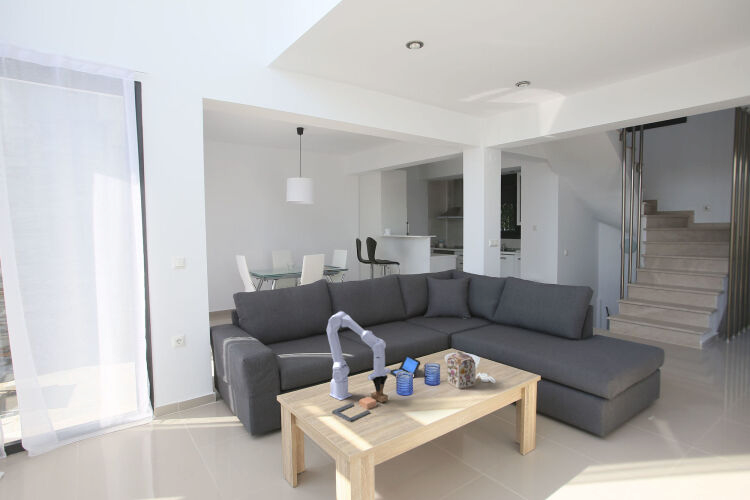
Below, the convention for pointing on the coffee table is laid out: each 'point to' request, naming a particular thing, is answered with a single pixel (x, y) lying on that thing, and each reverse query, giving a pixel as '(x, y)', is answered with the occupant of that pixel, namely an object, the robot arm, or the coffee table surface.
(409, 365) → the handheld game console
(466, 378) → the decorative jar
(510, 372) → the coffee table surface
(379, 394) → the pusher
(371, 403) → the tile
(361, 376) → the coffee table surface
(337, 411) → the frame
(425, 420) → the coffee table surface
